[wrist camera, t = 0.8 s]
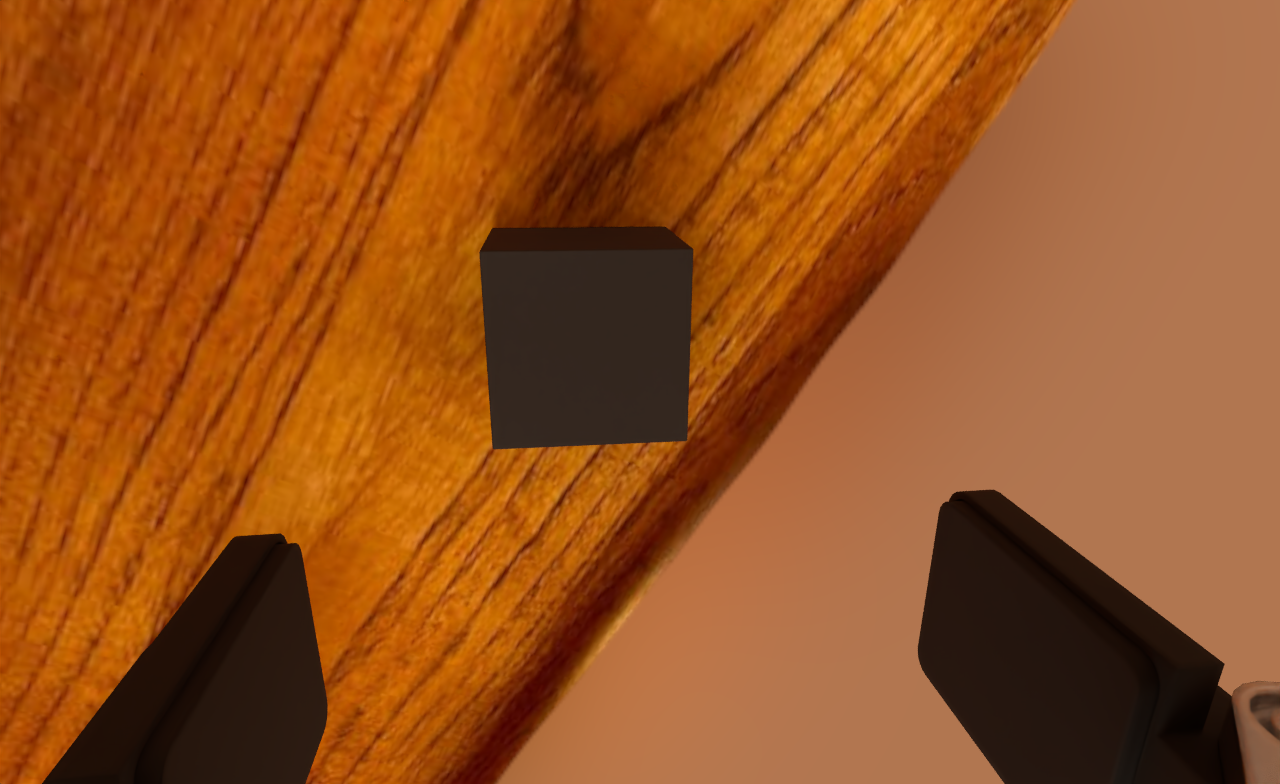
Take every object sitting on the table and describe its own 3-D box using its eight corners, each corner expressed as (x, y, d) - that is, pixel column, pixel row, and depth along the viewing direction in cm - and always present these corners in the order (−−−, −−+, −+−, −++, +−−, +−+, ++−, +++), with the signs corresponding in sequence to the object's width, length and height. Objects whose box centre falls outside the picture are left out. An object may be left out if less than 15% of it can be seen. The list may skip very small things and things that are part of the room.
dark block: (491, 228, 25) (478, 250, 20) (666, 226, 25) (693, 248, 21) (501, 393, 27) (492, 450, 22) (663, 388, 27) (687, 441, 23)
